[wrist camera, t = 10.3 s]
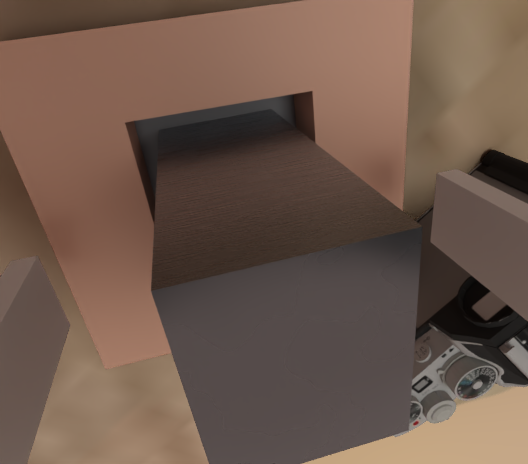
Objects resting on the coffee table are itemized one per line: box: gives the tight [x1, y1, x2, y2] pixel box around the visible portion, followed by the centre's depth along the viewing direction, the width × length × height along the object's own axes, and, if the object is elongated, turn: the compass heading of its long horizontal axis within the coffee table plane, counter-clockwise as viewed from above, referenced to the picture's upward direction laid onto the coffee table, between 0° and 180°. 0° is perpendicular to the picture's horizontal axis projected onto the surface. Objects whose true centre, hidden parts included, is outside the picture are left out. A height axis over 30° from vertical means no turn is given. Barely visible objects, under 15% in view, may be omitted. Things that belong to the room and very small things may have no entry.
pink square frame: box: [0, 0, 414, 369], centre depth 18 cm, size 14×15×4 cm
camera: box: [393, 150, 528, 437], centre depth 21 cm, size 16×9×10 cm, turn 135°
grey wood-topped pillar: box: [151, 109, 423, 464], centre depth 14 cm, size 6×5×12 cm
